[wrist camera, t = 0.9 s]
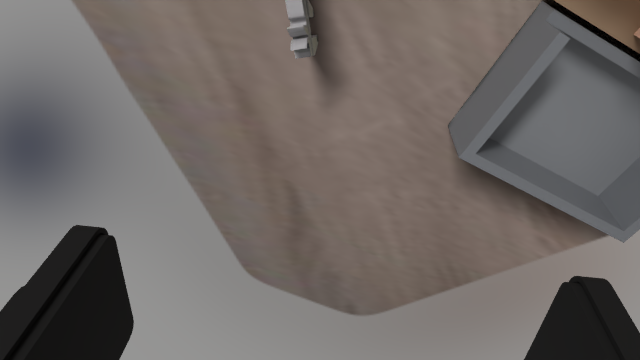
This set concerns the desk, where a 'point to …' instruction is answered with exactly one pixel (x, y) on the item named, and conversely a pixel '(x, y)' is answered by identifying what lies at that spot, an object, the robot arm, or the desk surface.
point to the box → (560, 122)
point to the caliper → (301, 28)
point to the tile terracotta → (637, 33)
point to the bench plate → (610, 17)
